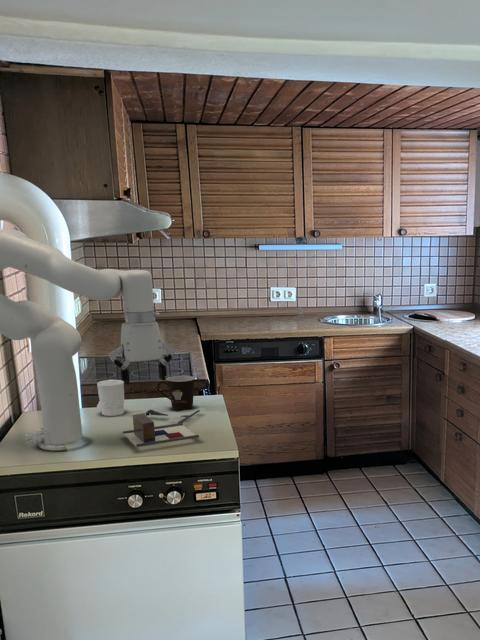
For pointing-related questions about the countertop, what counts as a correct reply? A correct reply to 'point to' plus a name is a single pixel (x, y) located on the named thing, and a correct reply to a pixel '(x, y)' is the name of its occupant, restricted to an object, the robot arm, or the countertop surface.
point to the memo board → (162, 438)
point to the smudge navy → (160, 432)
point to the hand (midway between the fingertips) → (144, 381)
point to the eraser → (144, 428)
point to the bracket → (167, 415)
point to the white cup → (111, 397)
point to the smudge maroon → (174, 435)
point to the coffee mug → (180, 392)
